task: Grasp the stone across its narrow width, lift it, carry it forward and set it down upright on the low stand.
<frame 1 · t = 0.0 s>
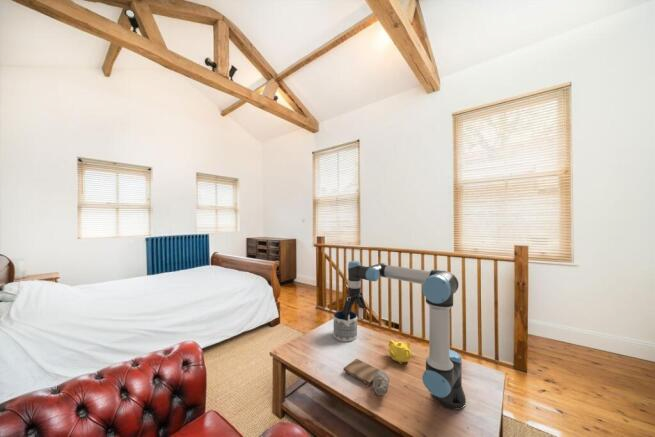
hand: (354, 321, 144), 28 cm above the table, fingers open, 13 cm apart
stone: (380, 392, 124), on the table
planter: (345, 336, 184), on the table
teapot: (399, 359, 153), on the table
stand: (362, 374, 138), on the table
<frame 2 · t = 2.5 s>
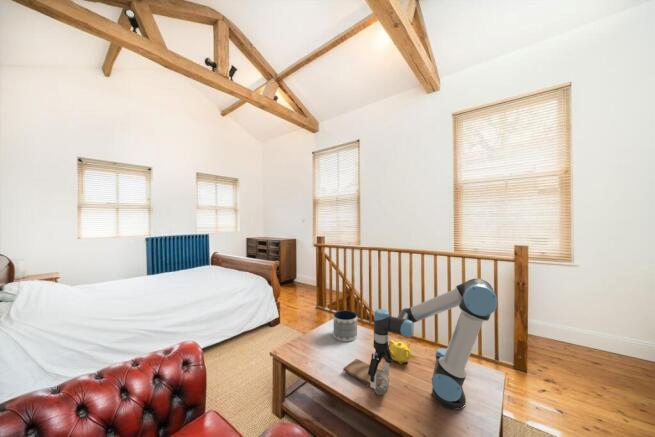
hand: (380, 380, 124), 6 cm above the table, fingers open, 13 cm apart
stone: (380, 392, 124), on the table, touching gripper
everything else where it was.
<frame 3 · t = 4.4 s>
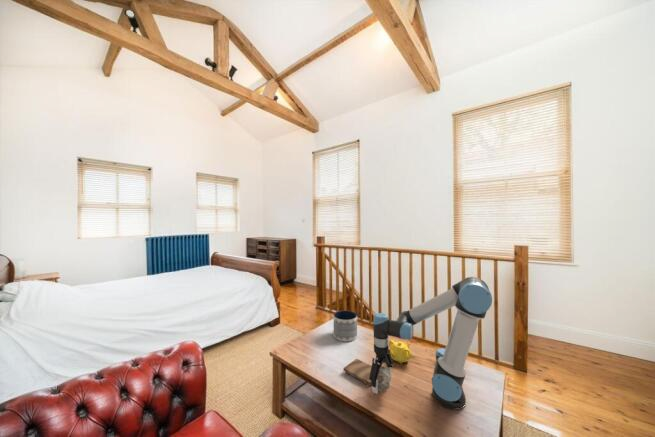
hand: (382, 385, 124), 4 cm above the table, fingers closed on stone, 13 cm apart
stone: (381, 389, 123), point 2 cm above the table, touching gripper
everything else where it was.
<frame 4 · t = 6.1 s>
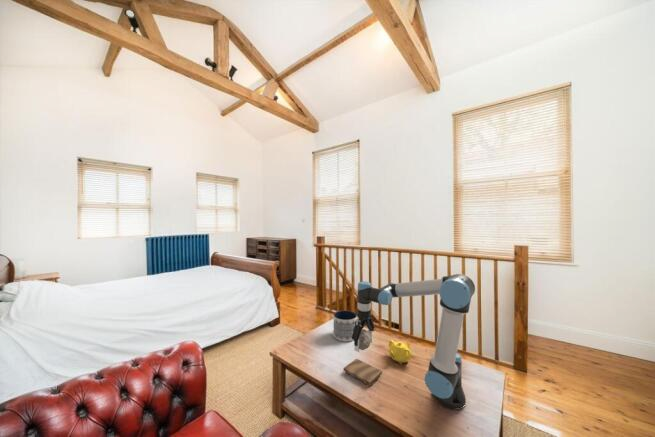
hand: (363, 346, 137), 17 cm above the table, fingers closed on stone, 13 cm apart
stone: (363, 349, 136), point 16 cm above the table, touching gripper
everything else where it was.
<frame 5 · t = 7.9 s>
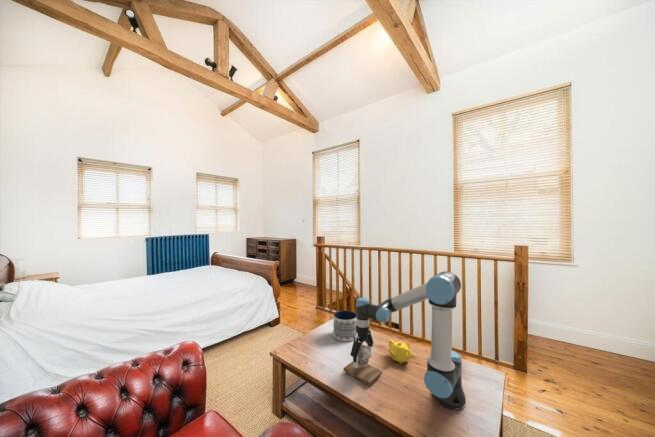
hand: (362, 362, 138), 7 cm above the table, fingers closed on stone, 13 cm apart
stone: (362, 364, 138), point 6 cm above the table, touching gripper
everything else where it was.
when the fingers open (6 cm above the table, at t = 8.9 s): stone drops 2 cm, resting on stand.
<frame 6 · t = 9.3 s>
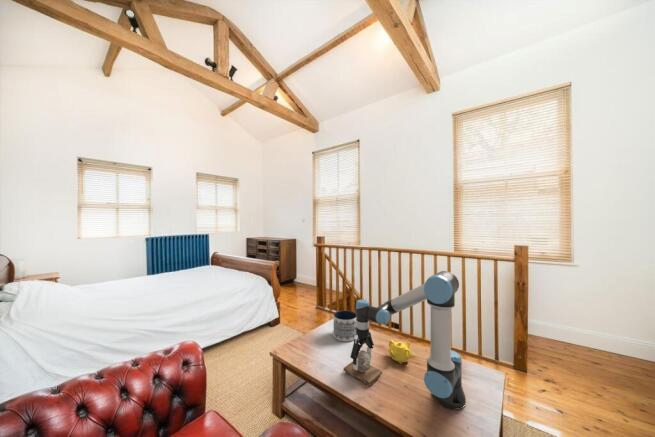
hand: (362, 364, 138), 6 cm above the table, fingers open, 13 cm apart
stone: (362, 370, 137), point 3 cm above the table, touching stand
everything else where it was.
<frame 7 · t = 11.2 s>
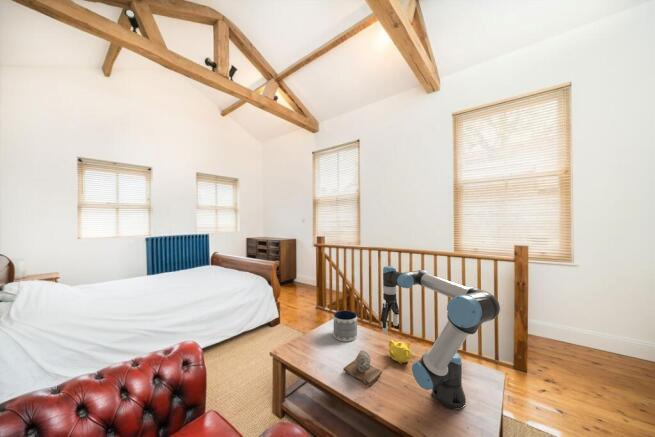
hand: (390, 329, 140), 26 cm above the table, fingers open, 13 cm apart
nothing on the table moved.
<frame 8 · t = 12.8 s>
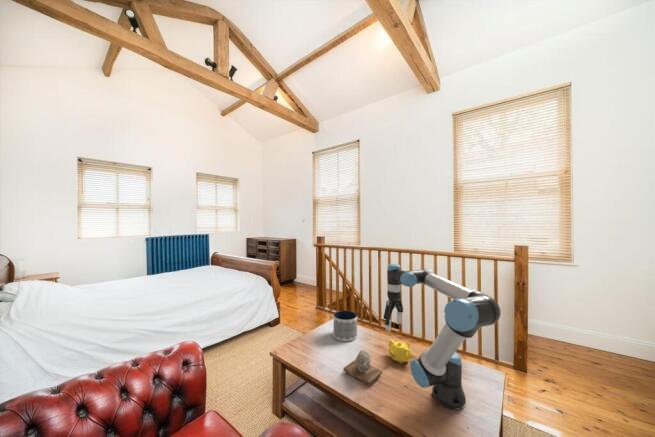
hand: (393, 326, 141), 27 cm above the table, fingers open, 13 cm apart
nothing on the table moved.
at the end: stone inside the target area on the stand (0.6 cm from its centre), point 2.8 cm above the stand's base; stone touching stand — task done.
